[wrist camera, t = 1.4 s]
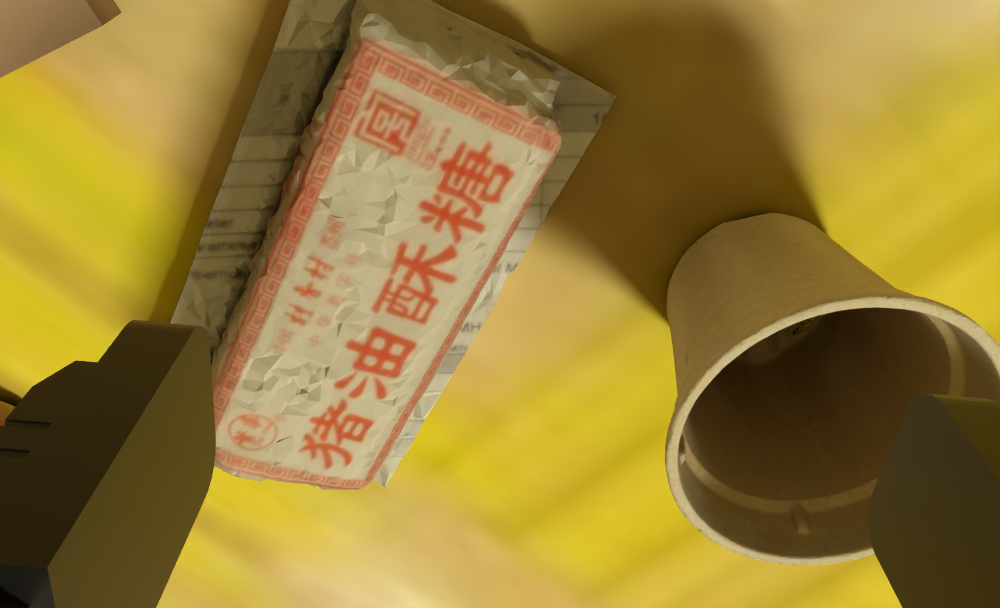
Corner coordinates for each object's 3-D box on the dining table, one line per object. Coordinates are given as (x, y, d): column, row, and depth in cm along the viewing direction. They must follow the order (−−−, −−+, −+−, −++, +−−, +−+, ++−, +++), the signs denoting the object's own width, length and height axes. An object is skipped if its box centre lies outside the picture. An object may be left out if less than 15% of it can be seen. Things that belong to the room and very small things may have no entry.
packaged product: (287, -37, 21) (638, 139, 23) (318, -69, 25) (613, 85, 27) (101, 470, 29) (377, 560, 32) (147, 383, 33) (388, 469, 36)
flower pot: (653, 147, 28) (717, 280, 21) (927, 179, 29) (1083, 318, 22) (598, 379, 33) (634, 554, 26) (834, 401, 34) (935, 576, 26)
